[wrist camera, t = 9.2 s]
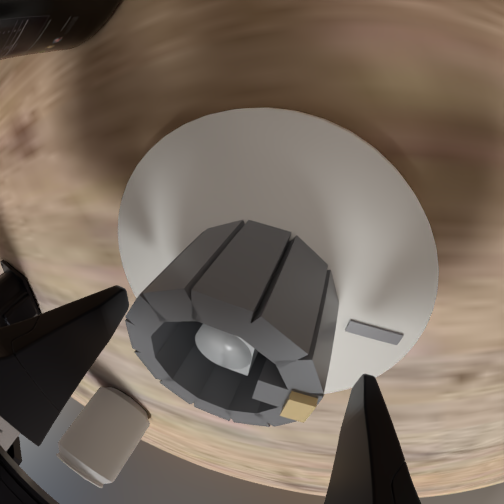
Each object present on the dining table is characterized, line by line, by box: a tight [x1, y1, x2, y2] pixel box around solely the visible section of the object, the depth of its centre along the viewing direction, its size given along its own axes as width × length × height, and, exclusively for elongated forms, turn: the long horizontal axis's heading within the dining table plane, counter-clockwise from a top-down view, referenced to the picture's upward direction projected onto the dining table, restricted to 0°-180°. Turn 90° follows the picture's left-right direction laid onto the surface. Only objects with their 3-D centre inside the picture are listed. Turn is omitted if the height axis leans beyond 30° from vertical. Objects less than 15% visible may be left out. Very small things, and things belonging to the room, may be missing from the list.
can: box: [57, 387, 150, 488], centre depth 24 cm, size 8×8×12 cm
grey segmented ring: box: [125, 220, 339, 427], centre depth 10 cm, size 6×6×4 cm
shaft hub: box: [118, 107, 439, 394], centre depth 10 cm, size 14×14×4 cm
